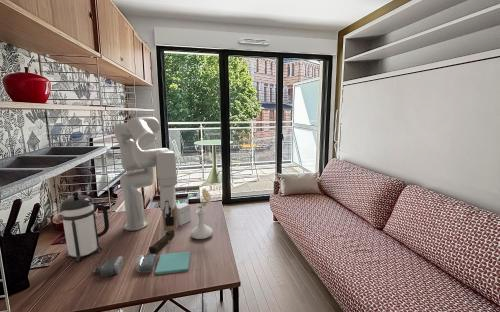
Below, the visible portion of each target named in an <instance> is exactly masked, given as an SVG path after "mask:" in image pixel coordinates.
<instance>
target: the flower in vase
mask: <svg viewBox="0 0 500 312" xmlns="http://www.w3.org/2000/svg"><path fill="white" fill-rule="evenodd" d="M206 189H207V188H202V191H201V194H202V197H203V199H202V201H201V204H200V205H201V206H199V205H198V207H197V210H196V211H195V213H196V214H197V217H198V224H197V225H196V226H195V227H193V228H192V230H191V231H190V236H191V238H193V239H197V240H203V239H207V238H209V237H211V236H212V234H213V229H212V228H211V227H210V226H208V225H206V224H205V223H204V215H205V213H206V210H205V209H202V208H203V207H206V206H207V203H211V201H212V197H211V196H212V195H211V193H210V192H209V190H206ZM204 200H205V201H204Z"/></svg>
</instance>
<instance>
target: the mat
mask: <svg viewBox="0 0 500 312" xmlns="http://www.w3.org/2000/svg"><path fill="white" fill-rule="evenodd" d="M190 258H191V251H180V252H172V253H171V252H169V253H162V254H161V253H160V256H159V260H158V263H157V266H156V268H155V271H154V274H155V275H164V274H172V273H180V272H188V271H189V268H190V267H189V266H190V260H191V259H190Z"/></svg>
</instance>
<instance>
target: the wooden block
mask: <svg viewBox="0 0 500 312" xmlns="http://www.w3.org/2000/svg"><path fill="white" fill-rule="evenodd" d="M177 205H178V204H175V206H174V209H173V210H172V216H173V219H174V225H173V226H166V224H165V208H164V210H163V211H161V213H162V220H163V221H162V223H163V231H164V232H167V231H170V230H174V231H177V230H178V226H179V225H178V217H177ZM169 209H171V208H169ZM169 212H170V213H171V211H169Z"/></svg>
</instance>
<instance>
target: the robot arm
mask: <svg viewBox="0 0 500 312" xmlns="http://www.w3.org/2000/svg"><path fill="white" fill-rule="evenodd" d="M160 128H161V125H160V121H159V120H158V118H157V117H154V116H139V117H138V116H137V117H132V118H130V119H128V121H127V122H123V123H122V122H121V123H117V124H116V125H114V129H113V131H114V137H115V139H116V141H117V143H118V145H119V151H120V161H121V167H122V169H123V170H124V171H128V172H126V173H123V174H122V175H121V176H120V177H119V184H120V186H121V190H122V194H123V203H124V210H125V218H126V219H125V220H126V223H125V224H124V226H123V228H124V230H125V231H129V232H131V231H133V232H134V231H138V230H141V229H145V228H146V227H147V226H148V225H149V221H148V220H147V219H146V217H145V207H144V206H145V205H144V198H143V193H141V192H140V190H138V189H142V188H145V187H150V186H152V185H153V184H154V182H155V174H154V173H155V172H154V168H155V167H156V175H157V186H158V187H160V188H159V199H160V200H159V201H160V202H159V203H160V211H161V212H162V211H163V210H164V208H165V224H166V226H173V225H174V219H173V216H172V210H173V209H174V206H175V205H176V202H177V198H176V197H177V195H176V186H177V185H178V173H177V160H176V153H175V151H173V150H170V149H169V148H167V147H159V148H149V147H150V146H152V145H154V142H156V135H157V134H158V133H159V131H160ZM147 148H149V149H147ZM129 171H130V172H129ZM169 208H171V209H169ZM169 211H171V213H170V212H169Z"/></svg>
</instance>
